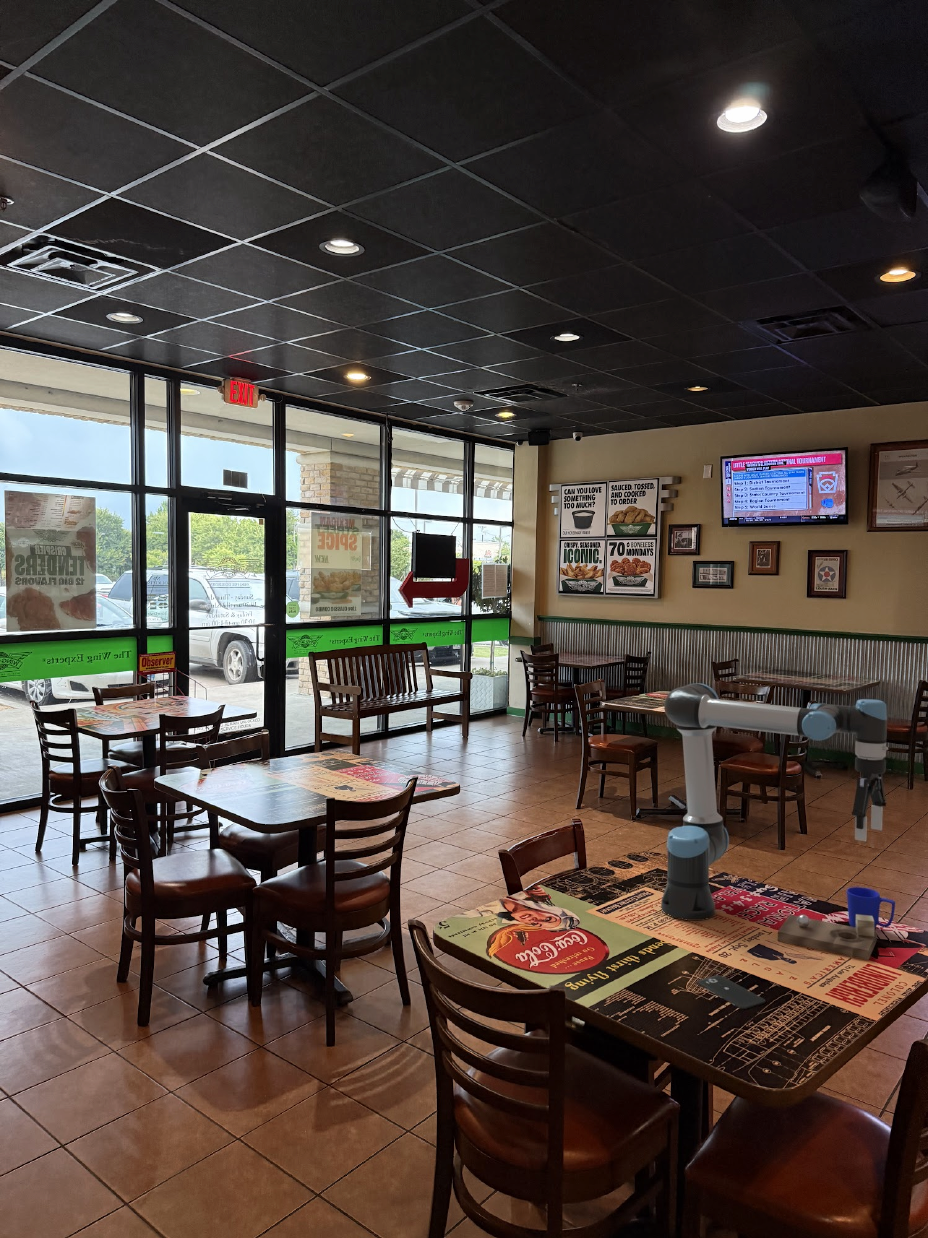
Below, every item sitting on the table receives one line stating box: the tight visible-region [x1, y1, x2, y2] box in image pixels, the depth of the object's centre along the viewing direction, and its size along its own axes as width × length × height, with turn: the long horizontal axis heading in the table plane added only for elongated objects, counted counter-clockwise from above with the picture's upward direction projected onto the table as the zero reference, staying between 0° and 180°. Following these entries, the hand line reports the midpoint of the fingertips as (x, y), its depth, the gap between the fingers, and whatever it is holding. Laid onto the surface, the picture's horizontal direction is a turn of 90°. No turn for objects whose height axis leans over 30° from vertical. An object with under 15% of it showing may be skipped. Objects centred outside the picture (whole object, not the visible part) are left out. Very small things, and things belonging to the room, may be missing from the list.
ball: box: [797, 914, 810, 927], centre depth 229 cm, size 3×3×3 cm
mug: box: [846, 886, 896, 931], centre depth 233 cm, size 8×12×10 cm
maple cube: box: [856, 914, 875, 937], centre depth 225 cm, size 4×4×4 cm
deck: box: [777, 914, 878, 961], centre depth 226 cm, size 22×14×2 cm, turn 57°
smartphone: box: [696, 974, 766, 1010], centre depth 198 cm, size 8×15×1 cm, turn 28°
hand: (868, 835), depth 231 cm, fingers open, 13 cm apart
